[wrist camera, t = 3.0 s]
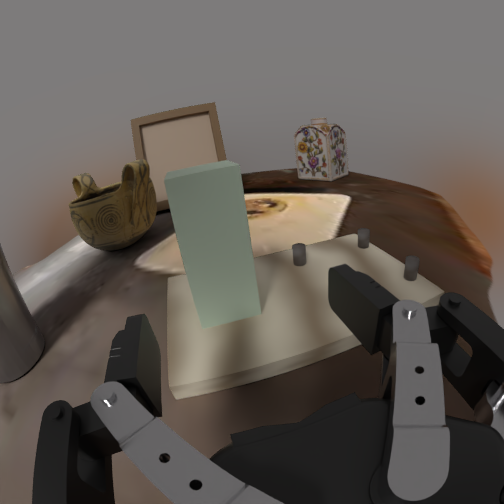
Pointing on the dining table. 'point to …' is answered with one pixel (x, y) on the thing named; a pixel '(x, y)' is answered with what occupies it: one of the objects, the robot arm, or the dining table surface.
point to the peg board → (280, 316)
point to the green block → (214, 240)
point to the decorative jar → (321, 151)
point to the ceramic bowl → (114, 208)
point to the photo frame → (177, 142)
